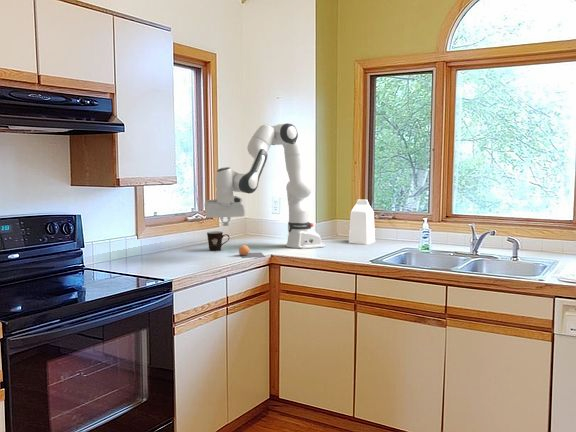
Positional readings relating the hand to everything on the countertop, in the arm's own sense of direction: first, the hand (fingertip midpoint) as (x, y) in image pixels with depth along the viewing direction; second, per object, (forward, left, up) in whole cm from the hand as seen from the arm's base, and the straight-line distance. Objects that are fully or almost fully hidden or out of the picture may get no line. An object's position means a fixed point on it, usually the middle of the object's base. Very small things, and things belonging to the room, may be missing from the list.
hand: (225, 225), depth 284 cm
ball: (-10, 0, -13) cm, 16 cm away
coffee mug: (+2, -20, -16) cm, 26 cm away
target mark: (-14, 0, -16) cm, 21 cm away
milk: (-86, -27, -16) cm, 91 cm away
